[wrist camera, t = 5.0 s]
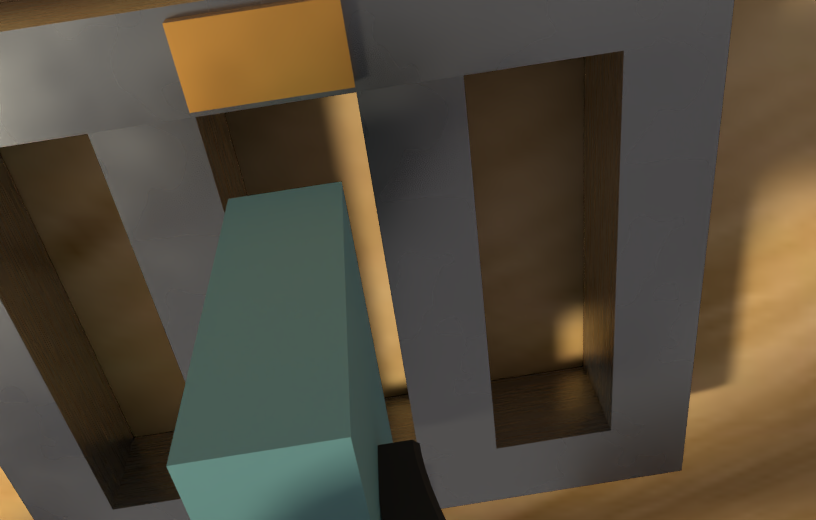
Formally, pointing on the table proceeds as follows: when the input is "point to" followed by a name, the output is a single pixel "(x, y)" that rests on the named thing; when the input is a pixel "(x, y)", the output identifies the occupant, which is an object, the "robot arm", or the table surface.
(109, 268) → the table surface
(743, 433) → the table surface
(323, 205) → the panel
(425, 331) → the rack
